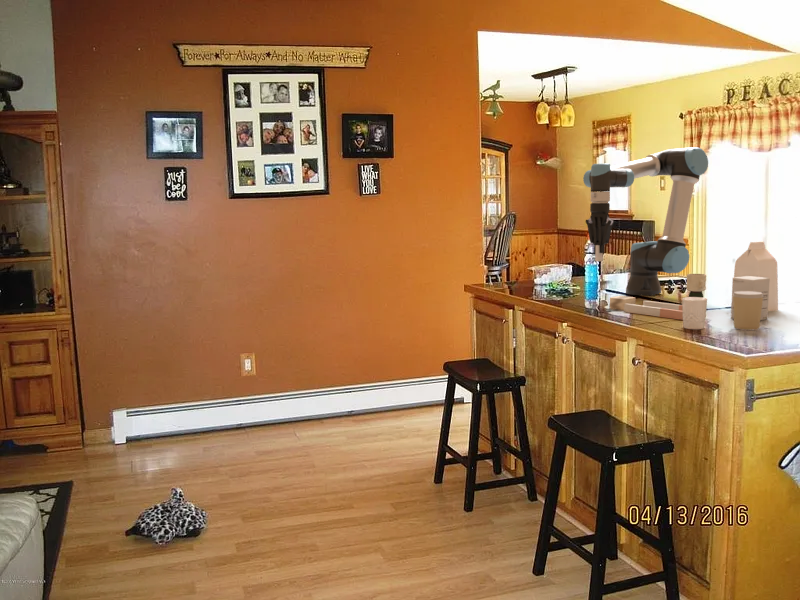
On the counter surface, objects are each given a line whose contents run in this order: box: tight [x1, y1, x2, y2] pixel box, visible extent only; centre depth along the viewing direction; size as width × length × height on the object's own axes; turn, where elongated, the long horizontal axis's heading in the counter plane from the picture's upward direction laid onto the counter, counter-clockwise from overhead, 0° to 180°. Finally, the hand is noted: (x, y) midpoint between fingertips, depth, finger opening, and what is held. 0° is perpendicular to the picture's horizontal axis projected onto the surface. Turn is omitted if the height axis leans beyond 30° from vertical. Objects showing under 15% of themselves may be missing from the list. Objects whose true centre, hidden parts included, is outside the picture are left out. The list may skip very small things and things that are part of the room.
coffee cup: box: [733, 291, 763, 331], centre depth 259 cm, size 9×9×12 cm
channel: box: [623, 300, 683, 321], centre depth 291 cm, size 26×13×3 cm, turn 36°
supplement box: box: [730, 276, 770, 321], centre depth 276 cm, size 9×9×15 cm
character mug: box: [686, 273, 707, 298], centre depth 304 cm, size 11×7×13 cm, turn 5°
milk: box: [731, 240, 779, 312], centre depth 295 cm, size 12×12×26 cm
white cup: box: [681, 296, 708, 330], centre depth 262 cm, size 8×8×10 cm
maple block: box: [609, 295, 636, 311], centre depth 307 cm, size 7×7×4 cm
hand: (598, 261), depth 314 cm, fingers closed
